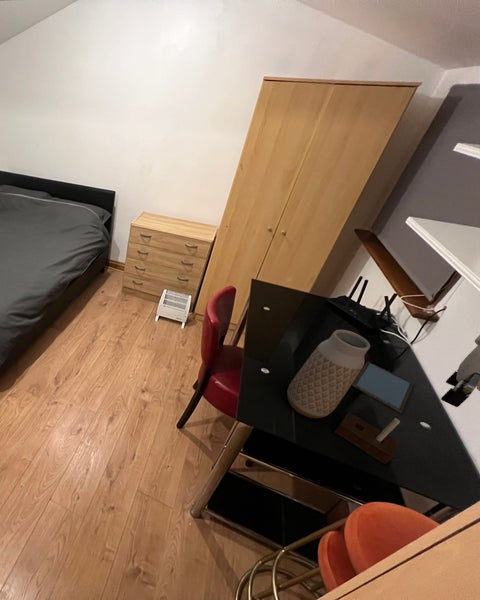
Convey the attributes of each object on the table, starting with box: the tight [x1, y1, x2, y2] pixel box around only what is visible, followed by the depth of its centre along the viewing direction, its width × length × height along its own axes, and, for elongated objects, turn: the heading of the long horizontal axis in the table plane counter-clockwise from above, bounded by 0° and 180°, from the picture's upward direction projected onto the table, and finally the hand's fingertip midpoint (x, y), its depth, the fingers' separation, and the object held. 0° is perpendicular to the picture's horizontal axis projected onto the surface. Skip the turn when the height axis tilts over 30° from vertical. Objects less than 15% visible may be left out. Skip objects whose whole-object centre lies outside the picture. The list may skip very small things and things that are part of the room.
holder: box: [334, 411, 400, 465], centre depth 101 cm, size 13×8×4 cm, turn 40°
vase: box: [286, 329, 371, 419], centre depth 103 cm, size 14×14×31 cm
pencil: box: [375, 417, 401, 442], centre depth 97 cm, size 1×1×13 cm
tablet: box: [351, 361, 414, 414], centre depth 123 cm, size 22×15×1 cm
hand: (451, 393), depth 84 cm, fingers open, 9 cm apart
